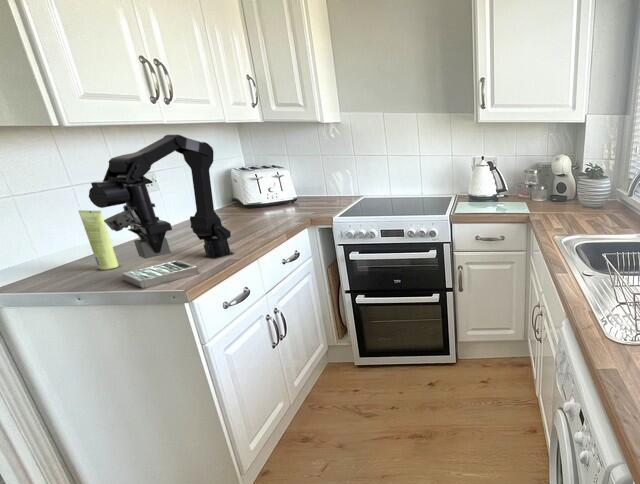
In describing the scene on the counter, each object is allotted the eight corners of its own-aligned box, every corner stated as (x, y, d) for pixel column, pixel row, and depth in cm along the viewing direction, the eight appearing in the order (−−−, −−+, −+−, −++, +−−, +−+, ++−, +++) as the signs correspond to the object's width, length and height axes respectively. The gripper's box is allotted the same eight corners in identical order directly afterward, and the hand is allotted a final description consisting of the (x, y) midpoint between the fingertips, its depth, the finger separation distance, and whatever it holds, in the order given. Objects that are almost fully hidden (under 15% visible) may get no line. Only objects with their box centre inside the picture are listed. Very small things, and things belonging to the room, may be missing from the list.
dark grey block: (164, 250, 131) (159, 235, 130) (170, 253, 129) (166, 237, 127) (139, 256, 126) (133, 240, 124) (145, 258, 124) (140, 242, 122)
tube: (121, 264, 142) (102, 207, 136) (121, 267, 139) (100, 210, 132) (99, 267, 139) (78, 210, 132) (98, 271, 135) (76, 212, 129)
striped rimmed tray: (180, 266, 139) (177, 259, 138) (198, 273, 133) (196, 266, 132) (124, 280, 127) (121, 273, 126) (142, 288, 121) (139, 280, 120)
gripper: (90, 202, 120) (108, 253, 125) (115, 209, 111) (134, 263, 116) (137, 196, 129) (153, 244, 134) (164, 202, 120) (180, 253, 125)
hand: (154, 251), depth 127 cm, fingers closed on dark grey block, 4 cm apart
